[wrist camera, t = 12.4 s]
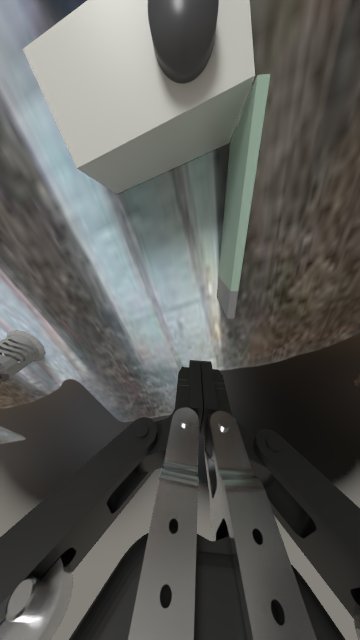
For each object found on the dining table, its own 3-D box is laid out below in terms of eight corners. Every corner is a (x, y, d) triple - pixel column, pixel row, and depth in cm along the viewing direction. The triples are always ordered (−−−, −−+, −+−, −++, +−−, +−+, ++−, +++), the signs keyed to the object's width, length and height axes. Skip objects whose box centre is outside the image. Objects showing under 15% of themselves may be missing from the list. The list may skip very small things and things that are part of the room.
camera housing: (217, 54, 19) (248, -173, 8) (228, 143, 22) (262, 56, 12) (90, 127, 22) (3, 27, 12) (117, 194, 25) (66, 161, 15)
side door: (230, 143, 22) (257, 74, 13) (237, 143, 22) (270, 73, 13) (216, 296, 31) (227, 318, 23) (221, 296, 31) (234, 318, 22)
